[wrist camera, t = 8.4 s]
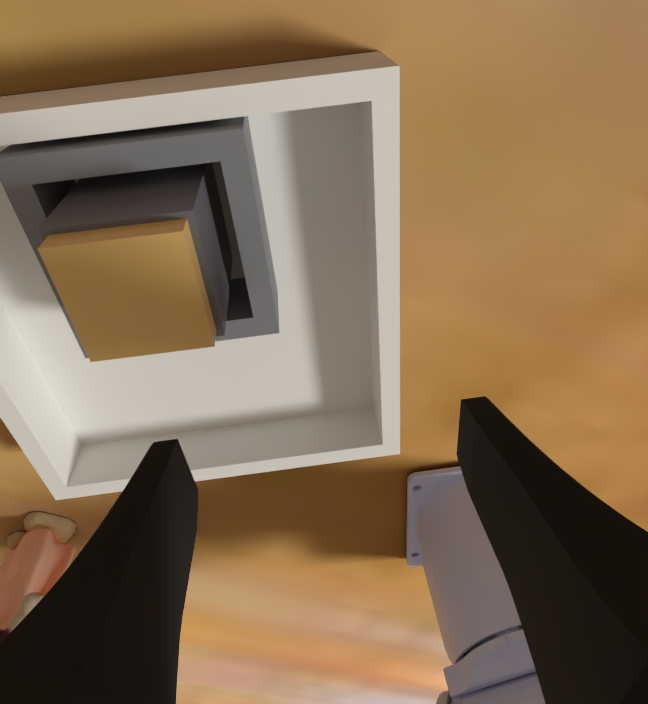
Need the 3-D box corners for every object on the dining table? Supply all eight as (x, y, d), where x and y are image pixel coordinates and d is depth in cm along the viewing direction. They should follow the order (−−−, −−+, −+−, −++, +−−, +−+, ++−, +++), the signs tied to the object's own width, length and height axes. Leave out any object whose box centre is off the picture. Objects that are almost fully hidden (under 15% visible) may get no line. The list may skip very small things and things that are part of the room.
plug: (232, 258, 20) (222, 350, 15) (129, 270, 20) (86, 368, 15) (209, 151, 17) (189, 222, 13) (91, 165, 17) (25, 242, 12)
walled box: (387, 409, 26) (402, 462, 23) (75, 451, 26) (52, 509, 23) (379, 51, 16) (403, 68, 14) (-122, 111, 16) (-202, 141, 13)
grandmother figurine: (59, 570, 32) (-34, 848, 22) (-7, 555, 30) (-141, 847, 20) (102, 501, 28) (14, 795, 18) (29, 481, 27) (-110, 789, 17)
